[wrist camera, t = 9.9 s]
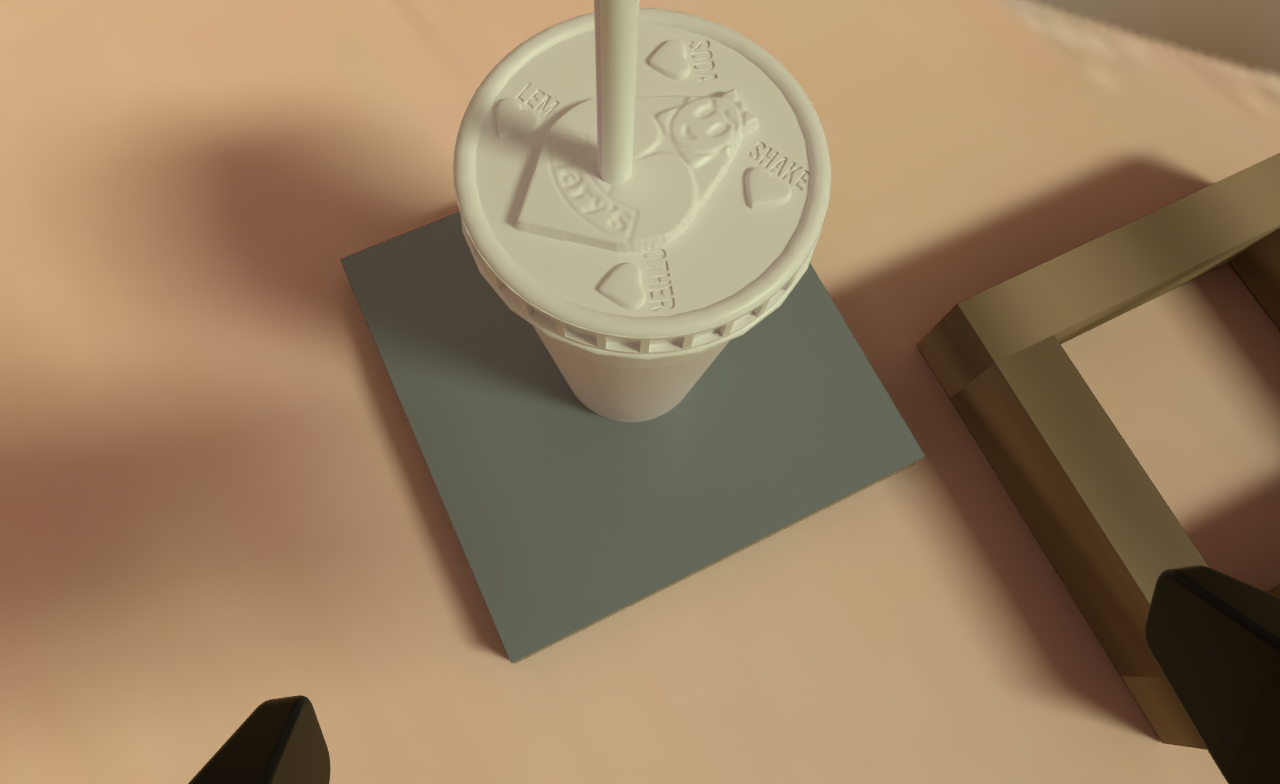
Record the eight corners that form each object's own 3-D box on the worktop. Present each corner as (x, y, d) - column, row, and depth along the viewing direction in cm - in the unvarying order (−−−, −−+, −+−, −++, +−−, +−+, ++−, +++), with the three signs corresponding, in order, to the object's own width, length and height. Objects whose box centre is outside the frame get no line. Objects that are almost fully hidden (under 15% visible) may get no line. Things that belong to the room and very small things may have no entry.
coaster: (515, 663, 22) (510, 663, 21) (350, 275, 25) (340, 259, 24) (912, 464, 24) (925, 456, 23) (714, 128, 27) (718, 108, 26)
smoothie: (470, 319, 23) (286, -132, 10) (667, 214, 25) (735, -314, 11) (589, 518, 22) (556, 296, 9) (792, 395, 23) (1044, 33, 10)
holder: (1162, 742, 22) (1246, 755, 19) (916, 345, 25) (957, 303, 22) (1504, 538, 24) (1628, 520, 21) (1238, 193, 27) (1313, 137, 24)
